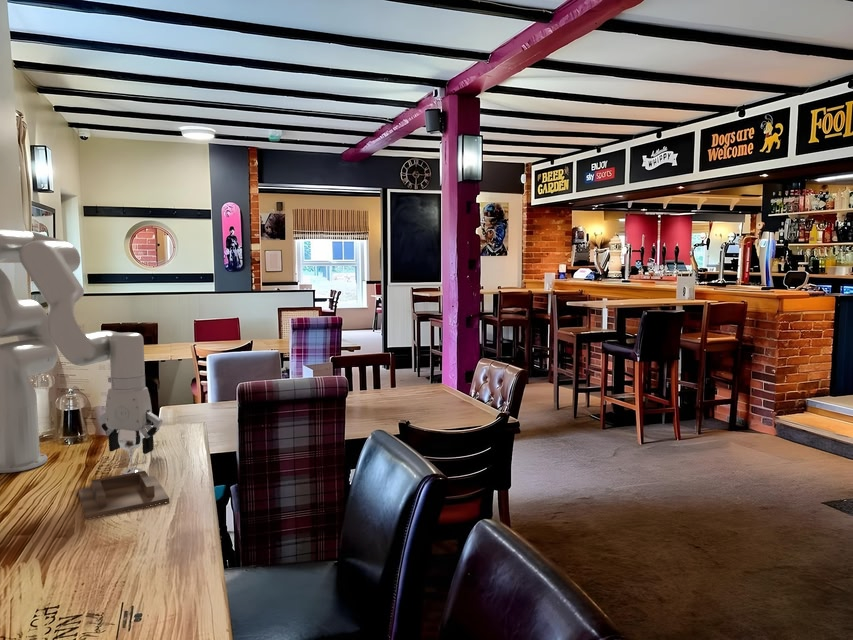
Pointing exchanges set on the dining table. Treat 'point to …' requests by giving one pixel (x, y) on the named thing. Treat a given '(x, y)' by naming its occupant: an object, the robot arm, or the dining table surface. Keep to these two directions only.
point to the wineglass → (130, 445)
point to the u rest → (121, 494)
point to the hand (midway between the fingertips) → (131, 450)
